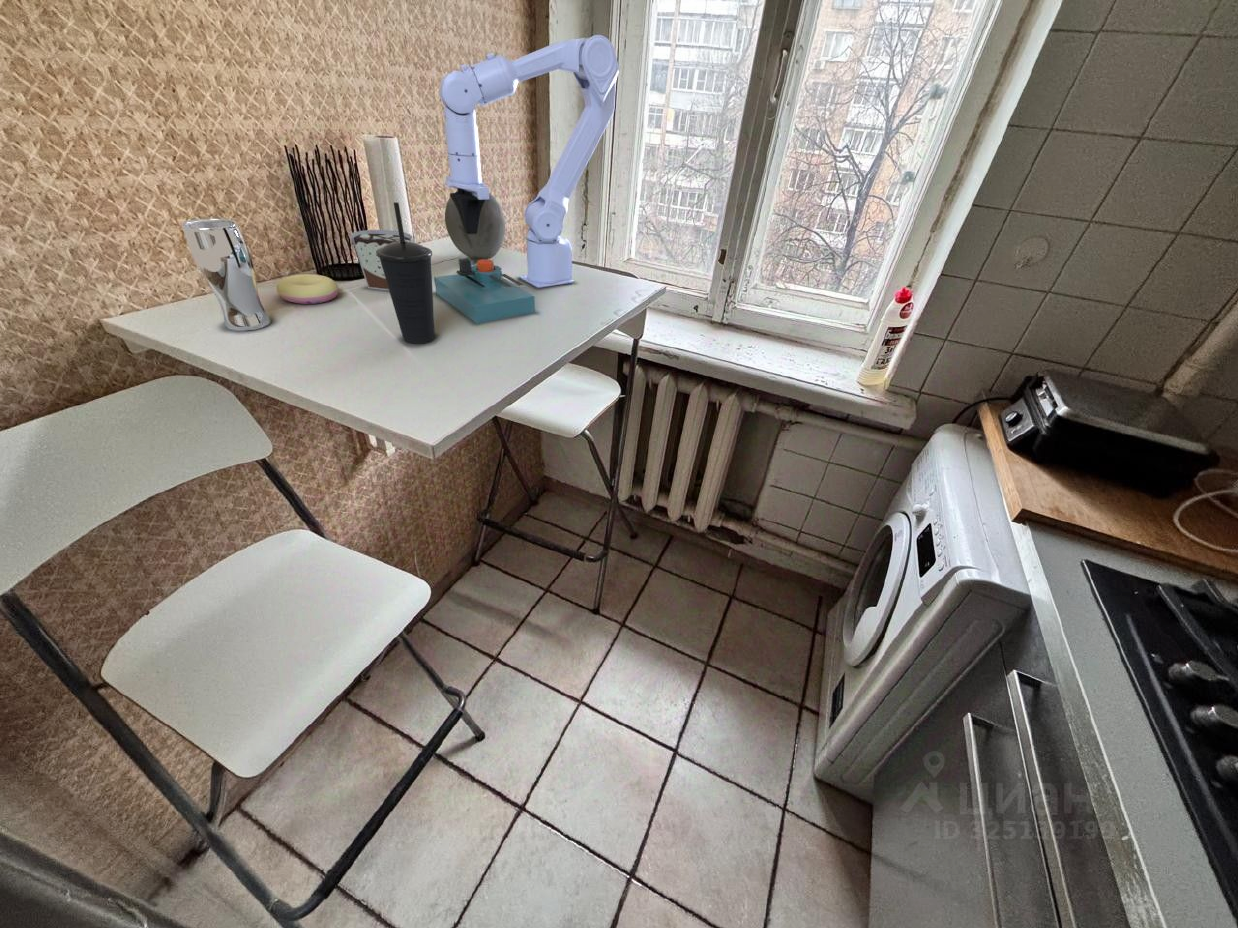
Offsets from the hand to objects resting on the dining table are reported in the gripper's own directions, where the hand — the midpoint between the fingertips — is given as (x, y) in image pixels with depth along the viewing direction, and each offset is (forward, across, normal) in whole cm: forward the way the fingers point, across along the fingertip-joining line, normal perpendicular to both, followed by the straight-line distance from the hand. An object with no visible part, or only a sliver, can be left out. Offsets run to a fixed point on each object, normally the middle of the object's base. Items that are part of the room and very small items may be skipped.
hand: (471, 233), depth 99 cm
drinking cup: (+10, +23, -21) cm, 33 cm away
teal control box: (+10, +12, -4) cm, 16 cm away
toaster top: (+5, +14, -4) cm, 15 cm away
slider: (+5, +10, -6) cm, 13 cm away
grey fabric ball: (+10, -17, +9) cm, 22 cm away
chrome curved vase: (+10, +5, -42) cm, 43 cm away
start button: (+5, +8, -1) cm, 9 cm away
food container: (+10, -4, -15) cm, 19 cm away
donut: (+10, -4, -31) cm, 33 cm away
